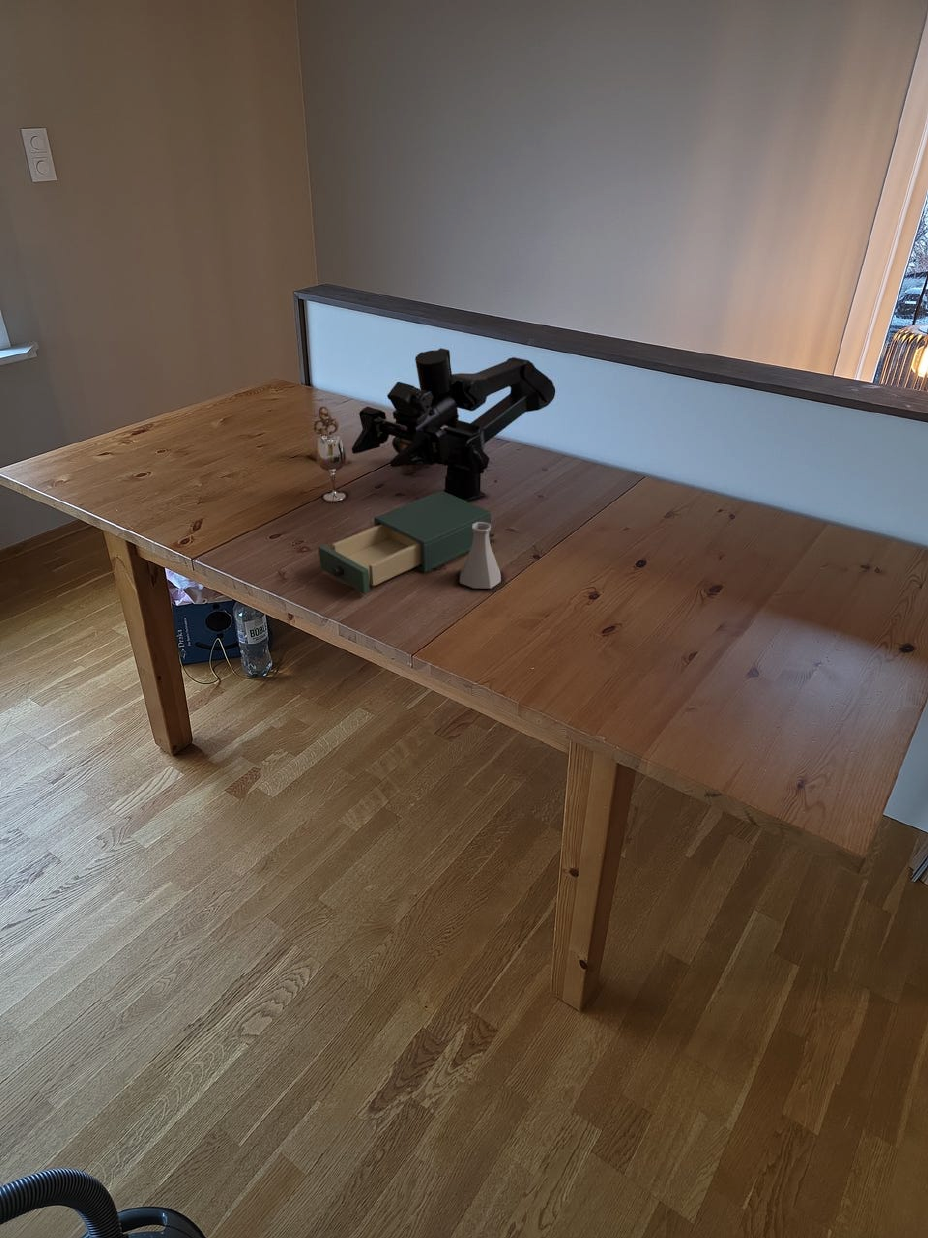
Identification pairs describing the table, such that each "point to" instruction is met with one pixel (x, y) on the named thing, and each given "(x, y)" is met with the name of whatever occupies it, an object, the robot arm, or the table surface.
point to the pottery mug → (410, 468)
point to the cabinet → (437, 526)
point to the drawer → (370, 557)
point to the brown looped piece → (326, 424)
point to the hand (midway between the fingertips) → (371, 457)
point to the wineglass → (331, 461)
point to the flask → (480, 560)
